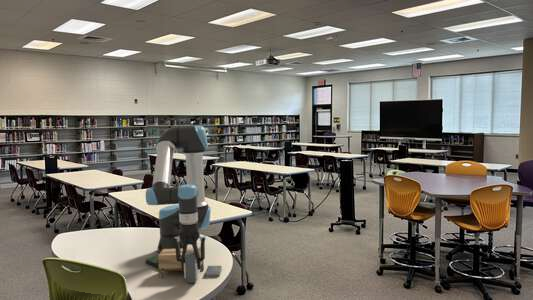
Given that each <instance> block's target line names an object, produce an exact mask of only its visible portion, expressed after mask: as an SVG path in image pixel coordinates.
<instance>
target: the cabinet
mask: <svg viewBox="0 0 533 300" xmlns="http://www.w3.org/2000/svg"><path fill="white" fill-rule="evenodd" d="M198 250H199V254H200V257H201V245H199V247H198ZM182 251H183V249H180V254H181V258H182ZM187 251H194V249H193V247H192V248H188V247H187ZM187 251H186V252H187ZM157 255H158V263H159V269H158V277H159V279H161V278H163V276H164V275H163V274H164V273H163V272H184V270H182V266H181V262H180V261H177V259H176V249H163V250H162V251H161V252H160V254H159V253H158V254H157ZM204 260H205V259H204ZM204 260H203V261H201V268H200V269H201V270H200V272H202V271H204V270H205V266H204V265H205V264H204V262H205V261H204ZM163 269H164V270H163Z"/></svg>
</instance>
